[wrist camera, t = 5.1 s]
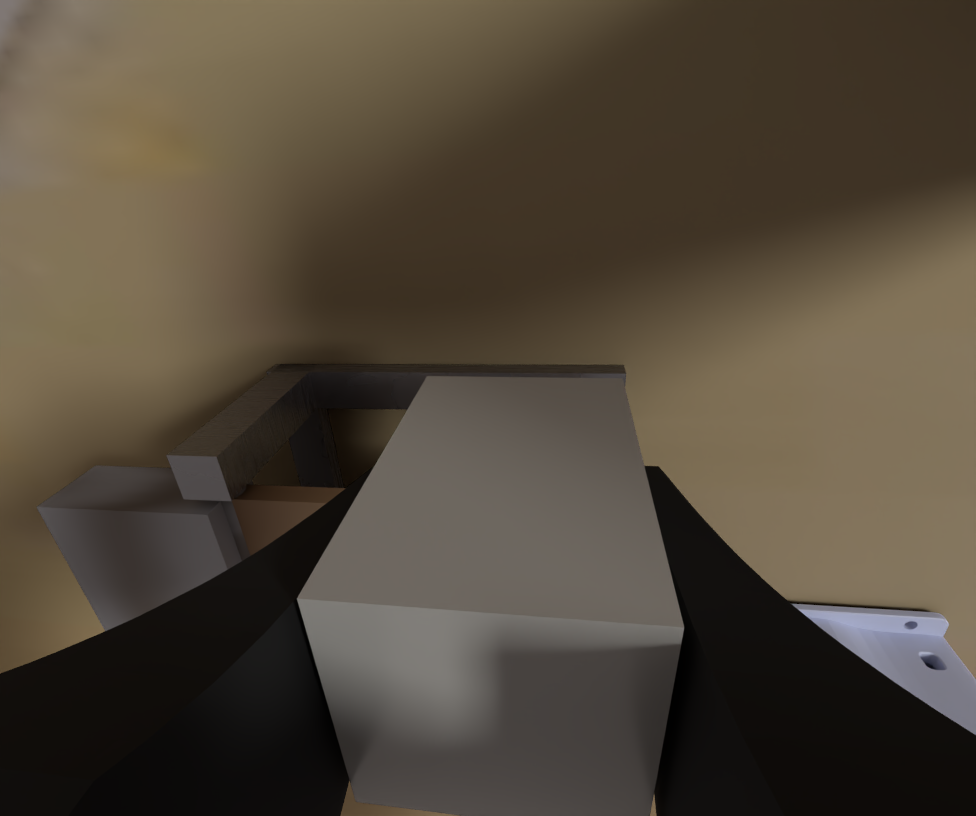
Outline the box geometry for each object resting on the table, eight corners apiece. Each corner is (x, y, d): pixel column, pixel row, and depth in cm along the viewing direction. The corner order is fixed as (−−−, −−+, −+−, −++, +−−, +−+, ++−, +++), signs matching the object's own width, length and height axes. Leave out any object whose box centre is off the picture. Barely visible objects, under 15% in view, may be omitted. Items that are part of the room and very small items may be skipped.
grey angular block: (623, 365, 19) (651, 469, 13) (602, 651, 27) (614, 805, 21) (276, 364, 21) (160, 455, 15) (344, 632, 29) (284, 766, 22)
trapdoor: (602, 477, 16) (608, 527, 14) (587, 720, 22) (590, 782, 20) (93, 460, 19) (33, 502, 17) (198, 683, 24) (163, 735, 22)
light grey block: (622, 378, 10) (684, 627, 5) (610, 534, 12) (645, 839, 7) (427, 376, 11) (296, 598, 6) (442, 526, 13) (356, 802, 7)
